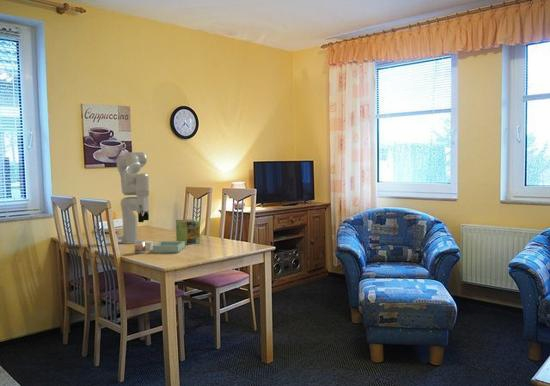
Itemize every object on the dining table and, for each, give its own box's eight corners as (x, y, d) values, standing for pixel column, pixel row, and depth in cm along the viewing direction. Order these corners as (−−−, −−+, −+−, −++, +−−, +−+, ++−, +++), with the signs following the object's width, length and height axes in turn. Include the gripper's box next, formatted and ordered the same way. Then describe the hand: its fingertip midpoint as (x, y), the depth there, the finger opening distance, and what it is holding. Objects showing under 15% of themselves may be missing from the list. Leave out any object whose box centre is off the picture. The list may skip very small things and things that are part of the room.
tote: (152, 252, 290) (152, 245, 290) (160, 248, 306) (160, 241, 306) (178, 253, 289) (178, 245, 288) (184, 248, 305) (184, 241, 304)
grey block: (141, 250, 299) (141, 242, 299) (144, 248, 305) (144, 240, 305) (150, 250, 299) (150, 242, 299) (153, 248, 305) (153, 241, 305)
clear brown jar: (133, 254, 288) (132, 242, 287) (136, 251, 294) (136, 240, 293) (143, 254, 287) (143, 242, 287) (147, 252, 294) (146, 240, 293)
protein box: (186, 245, 316) (186, 222, 314) (176, 242, 327) (175, 220, 326) (200, 243, 322) (200, 220, 321) (189, 240, 334) (188, 218, 333)
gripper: (141, 192, 299) (142, 219, 300) (131, 194, 282) (132, 223, 283) (153, 192, 299) (153, 219, 300) (144, 194, 281) (145, 222, 282)
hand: (143, 221), depth 291 cm, fingers open, 9 cm apart
